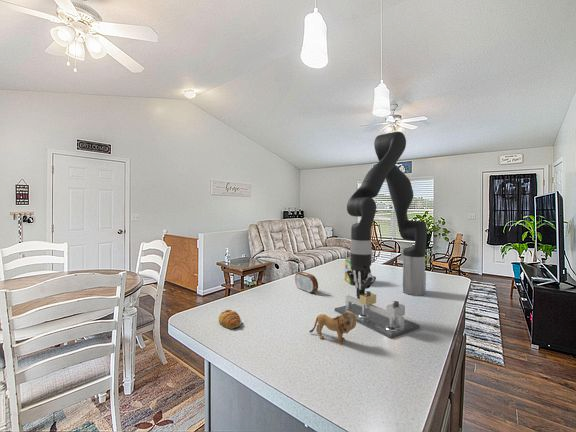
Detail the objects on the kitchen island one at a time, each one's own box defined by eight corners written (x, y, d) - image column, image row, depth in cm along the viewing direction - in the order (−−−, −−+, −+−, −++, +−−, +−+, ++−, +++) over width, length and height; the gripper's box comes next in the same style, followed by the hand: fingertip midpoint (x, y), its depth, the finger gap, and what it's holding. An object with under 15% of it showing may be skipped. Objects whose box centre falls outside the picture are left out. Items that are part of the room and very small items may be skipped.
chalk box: (344, 280, 151) (344, 252, 150) (360, 279, 152) (361, 252, 151) (350, 284, 142) (350, 255, 141) (367, 284, 143) (367, 255, 142)
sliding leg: (369, 310, 102) (369, 289, 102) (376, 313, 100) (376, 291, 99) (359, 313, 100) (359, 291, 99) (366, 316, 97) (366, 294, 97)
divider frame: (352, 304, 110) (352, 284, 110) (407, 328, 88) (407, 302, 88) (342, 306, 108) (342, 285, 107) (396, 331, 86) (397, 305, 86)
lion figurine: (358, 339, 83) (358, 310, 83) (354, 347, 78) (354, 316, 78) (311, 330, 90) (311, 302, 89) (305, 337, 85) (305, 308, 84)
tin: (318, 294, 127) (318, 275, 126) (313, 295, 125) (313, 276, 125) (299, 286, 139) (298, 269, 139) (293, 287, 137) (293, 270, 137)
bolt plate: (361, 304, 113) (361, 301, 113) (419, 328, 91) (419, 324, 91) (334, 310, 106) (334, 307, 106) (390, 338, 84) (390, 334, 84)
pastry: (246, 327, 93) (245, 315, 92) (226, 332, 89) (226, 320, 89) (234, 317, 100) (234, 307, 100) (216, 322, 97) (216, 311, 96)
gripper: (382, 253, 98) (381, 302, 99) (355, 248, 110) (355, 292, 110) (366, 255, 94) (366, 306, 95) (340, 250, 106) (340, 295, 106)
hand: (360, 298), depth 103 cm, fingers closed
